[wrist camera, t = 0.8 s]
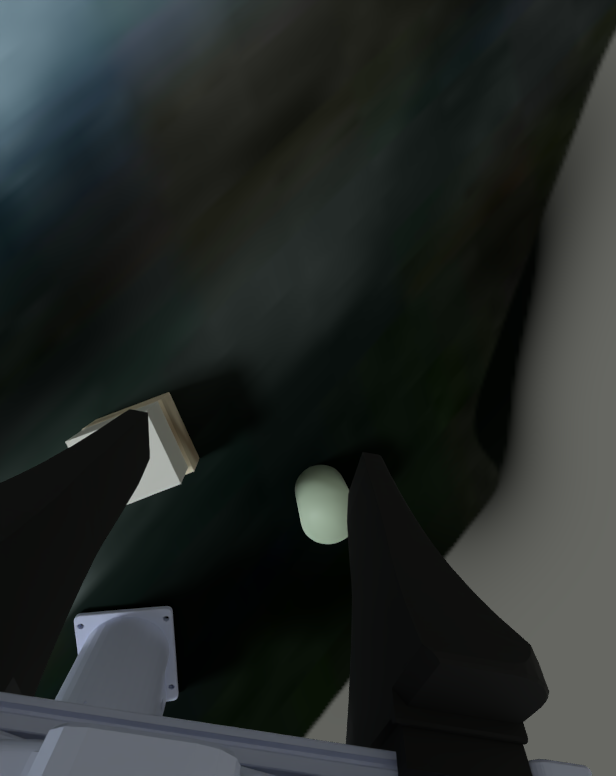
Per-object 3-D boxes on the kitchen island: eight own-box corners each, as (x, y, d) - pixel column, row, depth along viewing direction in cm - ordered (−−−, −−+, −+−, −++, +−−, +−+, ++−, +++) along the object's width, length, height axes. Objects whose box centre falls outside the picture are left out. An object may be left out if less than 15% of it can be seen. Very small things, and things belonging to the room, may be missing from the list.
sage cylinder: (344, 510, 36) (358, 542, 31) (294, 513, 35) (300, 546, 30) (345, 463, 35) (359, 488, 30) (294, 465, 34) (300, 491, 29)
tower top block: (188, 466, 30) (180, 483, 27) (118, 493, 30) (103, 513, 27) (157, 400, 29) (146, 411, 26) (85, 428, 29) (65, 441, 26)
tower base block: (199, 457, 33) (194, 471, 30) (131, 483, 33) (118, 500, 30) (169, 391, 32) (160, 399, 29) (98, 418, 32) (81, 429, 29)
